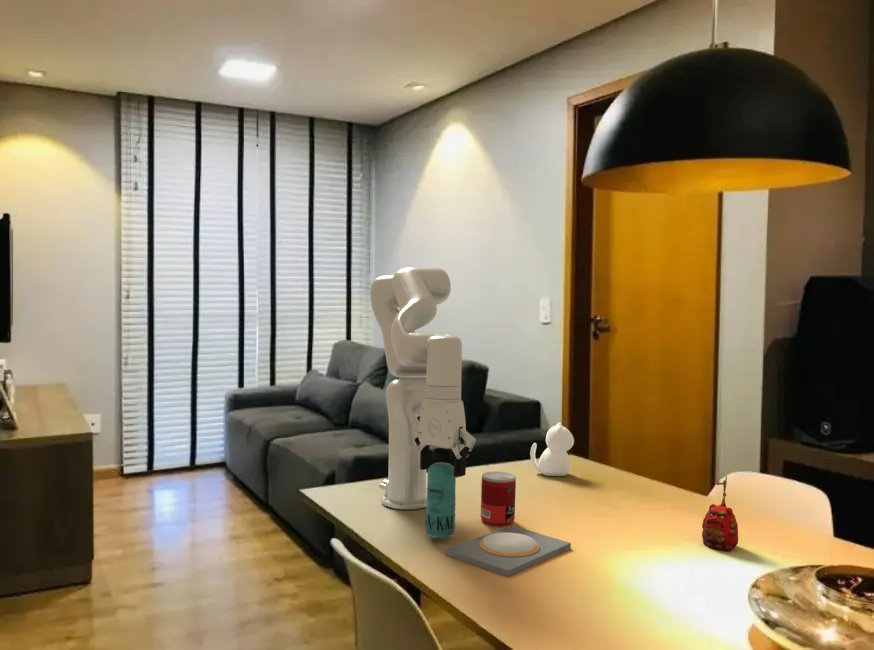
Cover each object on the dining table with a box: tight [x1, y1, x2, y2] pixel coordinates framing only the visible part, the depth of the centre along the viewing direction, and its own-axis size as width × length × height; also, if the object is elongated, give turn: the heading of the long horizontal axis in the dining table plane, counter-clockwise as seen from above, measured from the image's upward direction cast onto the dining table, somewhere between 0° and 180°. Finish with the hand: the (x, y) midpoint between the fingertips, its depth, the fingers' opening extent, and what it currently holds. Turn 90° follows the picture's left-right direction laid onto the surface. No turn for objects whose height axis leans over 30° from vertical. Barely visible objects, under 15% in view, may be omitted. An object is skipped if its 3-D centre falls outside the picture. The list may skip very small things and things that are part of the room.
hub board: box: [445, 524, 572, 577], centre depth 161 cm, size 16×22×2 cm
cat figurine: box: [529, 421, 575, 477], centre depth 226 cm, size 9×12×15 cm
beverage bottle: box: [424, 447, 457, 539], centre depth 167 cm, size 6×7×20 cm
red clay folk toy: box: [701, 475, 739, 552], centre depth 167 cm, size 8×7×15 cm
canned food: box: [480, 470, 517, 527], centre depth 181 cm, size 8×8×11 cm
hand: (442, 472), depth 166 cm, fingers open, 9 cm apart
